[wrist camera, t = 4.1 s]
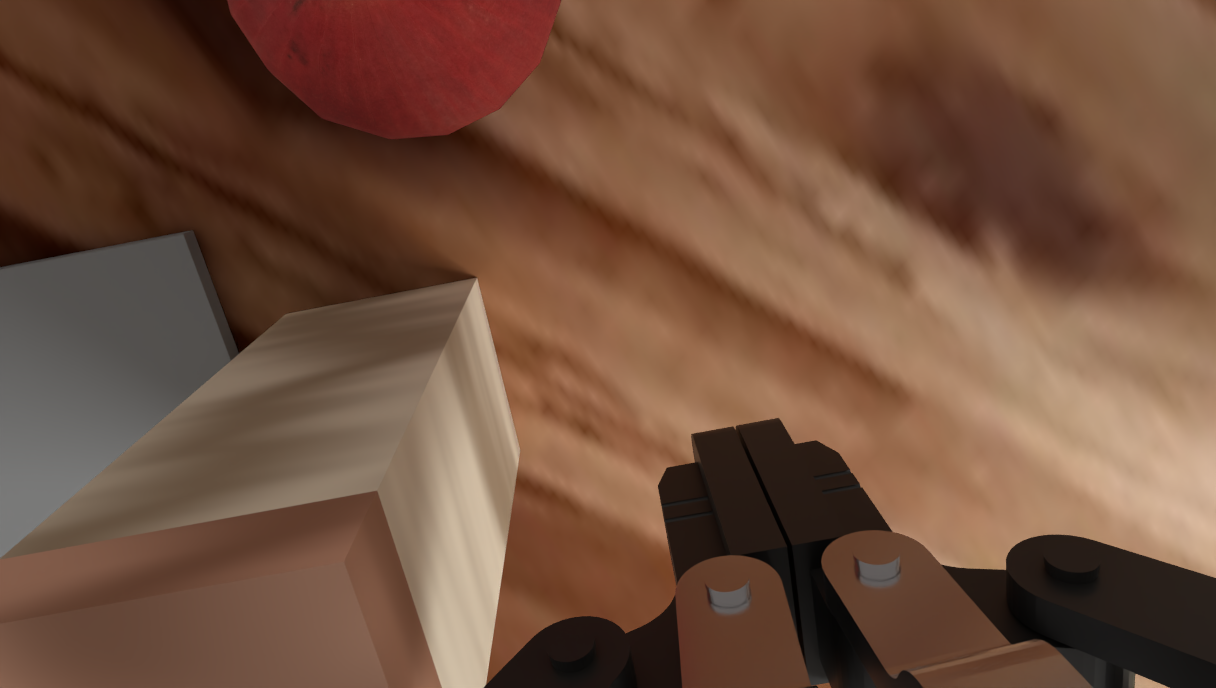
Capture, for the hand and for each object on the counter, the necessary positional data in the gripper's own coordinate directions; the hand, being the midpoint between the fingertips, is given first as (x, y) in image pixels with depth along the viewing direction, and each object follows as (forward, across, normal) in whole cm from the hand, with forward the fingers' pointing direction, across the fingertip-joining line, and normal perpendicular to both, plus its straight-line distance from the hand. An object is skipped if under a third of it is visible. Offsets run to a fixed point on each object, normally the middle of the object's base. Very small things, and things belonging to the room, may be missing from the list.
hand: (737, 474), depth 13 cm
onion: (+8, +4, -9) cm, 13 cm away
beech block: (+8, +7, 0) cm, 11 cm away
